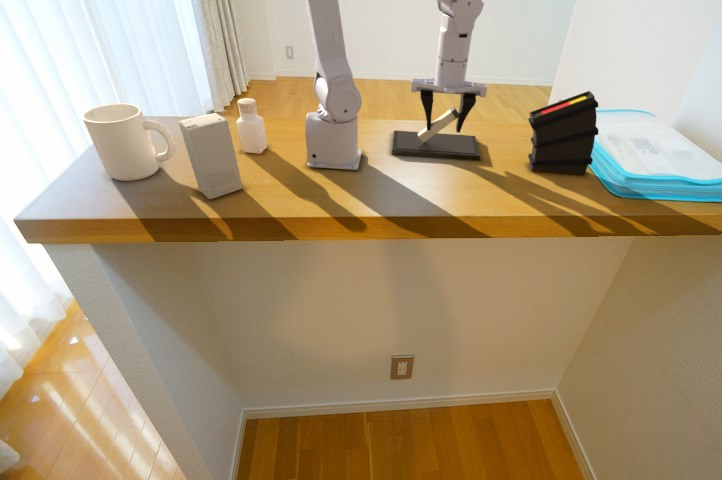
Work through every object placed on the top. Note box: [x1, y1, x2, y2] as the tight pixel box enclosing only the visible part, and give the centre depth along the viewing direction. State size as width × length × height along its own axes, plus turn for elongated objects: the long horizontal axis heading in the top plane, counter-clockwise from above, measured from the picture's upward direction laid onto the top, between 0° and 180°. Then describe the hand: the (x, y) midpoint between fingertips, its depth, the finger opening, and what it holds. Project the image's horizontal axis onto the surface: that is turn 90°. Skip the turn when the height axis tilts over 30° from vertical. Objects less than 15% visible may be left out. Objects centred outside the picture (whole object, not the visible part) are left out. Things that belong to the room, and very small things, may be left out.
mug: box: [81, 103, 176, 182], centre depth 70 cm, size 12×8×10 cm
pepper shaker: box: [236, 97, 268, 155], centre depth 79 cm, size 4×4×10 cm
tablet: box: [391, 129, 481, 161], centre depth 87 cm, size 18×10×1 cm, turn 88°
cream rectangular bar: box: [418, 106, 460, 143], centre depth 85 cm, size 2×2×9 cm
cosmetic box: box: [177, 112, 244, 200], centre depth 66 cm, size 6×4×12 cm
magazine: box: [527, 90, 599, 176], centre depth 79 cm, size 4×13×15 cm, turn 88°
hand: (443, 129), depth 85 cm, fingers closed on cream rectangular bar, 5 cm apart
